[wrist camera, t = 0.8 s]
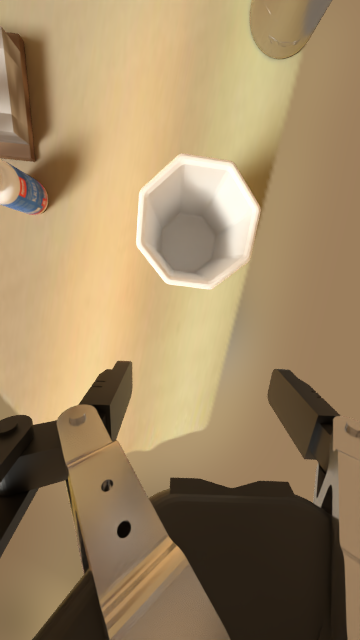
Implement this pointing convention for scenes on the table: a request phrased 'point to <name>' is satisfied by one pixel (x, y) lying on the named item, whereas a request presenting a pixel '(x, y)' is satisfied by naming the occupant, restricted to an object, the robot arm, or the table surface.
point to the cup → (197, 221)
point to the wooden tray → (14, 100)
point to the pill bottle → (21, 191)
